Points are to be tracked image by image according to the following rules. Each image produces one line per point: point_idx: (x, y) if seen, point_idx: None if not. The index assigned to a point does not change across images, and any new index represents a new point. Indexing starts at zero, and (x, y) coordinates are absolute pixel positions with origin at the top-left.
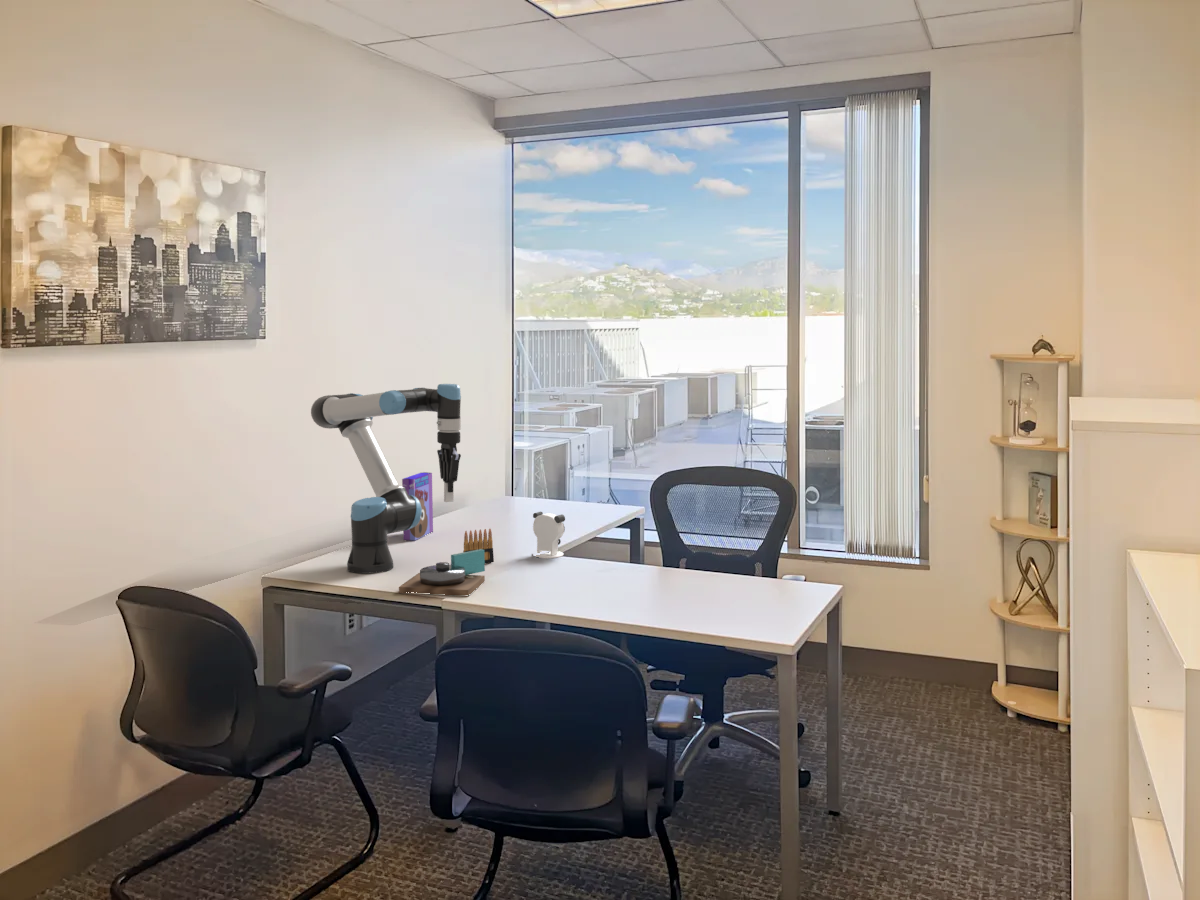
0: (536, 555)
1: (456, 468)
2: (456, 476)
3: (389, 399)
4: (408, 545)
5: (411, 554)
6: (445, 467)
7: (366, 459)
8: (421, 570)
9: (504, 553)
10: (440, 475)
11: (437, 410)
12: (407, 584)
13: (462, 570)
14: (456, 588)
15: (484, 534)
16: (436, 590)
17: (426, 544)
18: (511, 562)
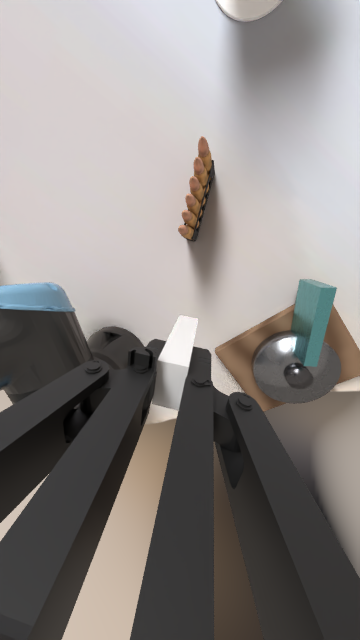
0: (246, 6)
1: (343, 595)
2: (273, 442)
3: None
4: (5, 226)
5: (69, 262)
6: (101, 529)
7: None
8: (268, 393)
9: (160, 83)
10: (73, 415)
11: None
12: (259, 399)
13: (332, 355)
14: (344, 375)
15: (200, 170)
16: None
17: (8, 192)
18: (245, 133)
